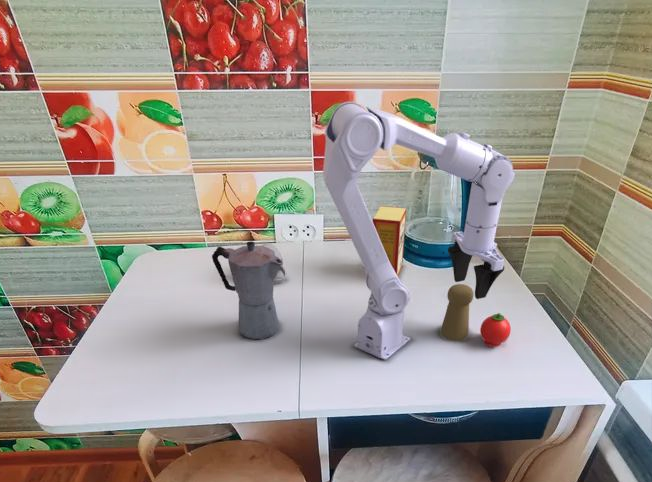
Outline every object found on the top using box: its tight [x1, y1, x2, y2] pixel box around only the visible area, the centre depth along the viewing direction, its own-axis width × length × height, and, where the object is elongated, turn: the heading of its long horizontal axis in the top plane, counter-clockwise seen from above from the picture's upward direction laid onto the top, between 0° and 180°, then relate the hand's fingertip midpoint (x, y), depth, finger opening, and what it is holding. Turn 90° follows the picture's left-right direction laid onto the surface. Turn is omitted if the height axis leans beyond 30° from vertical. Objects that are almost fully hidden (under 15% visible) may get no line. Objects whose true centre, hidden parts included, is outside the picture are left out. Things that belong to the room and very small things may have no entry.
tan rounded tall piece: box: [439, 283, 475, 342], centre depth 97 cm, size 6×6×11 cm
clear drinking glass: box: [260, 242, 287, 285], centre depth 118 cm, size 11×8×8 cm
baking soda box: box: [372, 205, 407, 277], centre depth 118 cm, size 10×6×16 cm
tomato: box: [479, 312, 512, 348], centre depth 95 cm, size 6×6×7 cm
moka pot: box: [211, 241, 284, 340], centre depth 95 cm, size 10×15×20 cm, turn 78°
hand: (469, 288), depth 94 cm, fingers open, 7 cm apart
